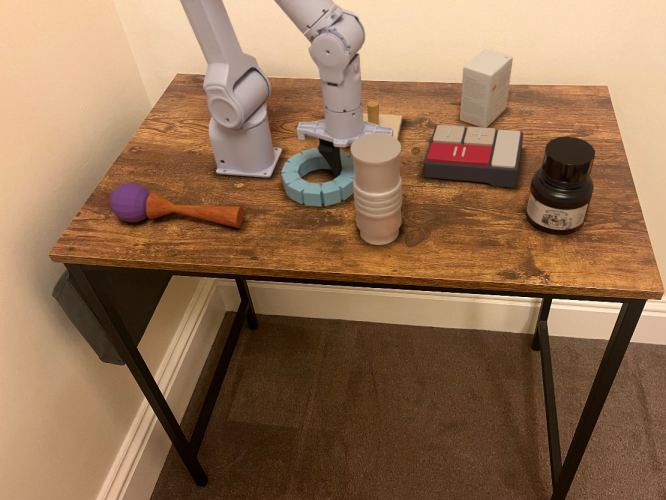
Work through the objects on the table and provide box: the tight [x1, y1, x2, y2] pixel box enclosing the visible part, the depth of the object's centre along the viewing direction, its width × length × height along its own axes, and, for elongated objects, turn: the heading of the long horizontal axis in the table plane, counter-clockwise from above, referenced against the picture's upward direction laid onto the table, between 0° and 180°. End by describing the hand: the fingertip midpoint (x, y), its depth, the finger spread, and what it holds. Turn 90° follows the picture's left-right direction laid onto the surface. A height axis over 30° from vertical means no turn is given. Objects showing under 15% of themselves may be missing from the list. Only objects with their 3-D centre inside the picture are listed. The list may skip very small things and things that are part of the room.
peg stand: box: [347, 100, 403, 148], centre depth 109 cm, size 9×9×6 cm
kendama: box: [109, 182, 245, 229], centre depth 94 cm, size 6×6×20 cm
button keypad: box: [423, 124, 524, 189], centre depth 103 cm, size 11×4×15 cm
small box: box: [459, 48, 514, 128], centre depth 110 cm, size 8×6×10 cm
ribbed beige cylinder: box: [350, 133, 403, 246], centre depth 88 cm, size 7×7×15 cm
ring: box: [280, 147, 355, 208], centre depth 101 cm, size 12×12×3 cm
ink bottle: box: [525, 136, 596, 235], centre depth 90 cm, size 10×9×12 cm
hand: (348, 177), depth 100 cm, fingers closed on ring, 3 cm apart
